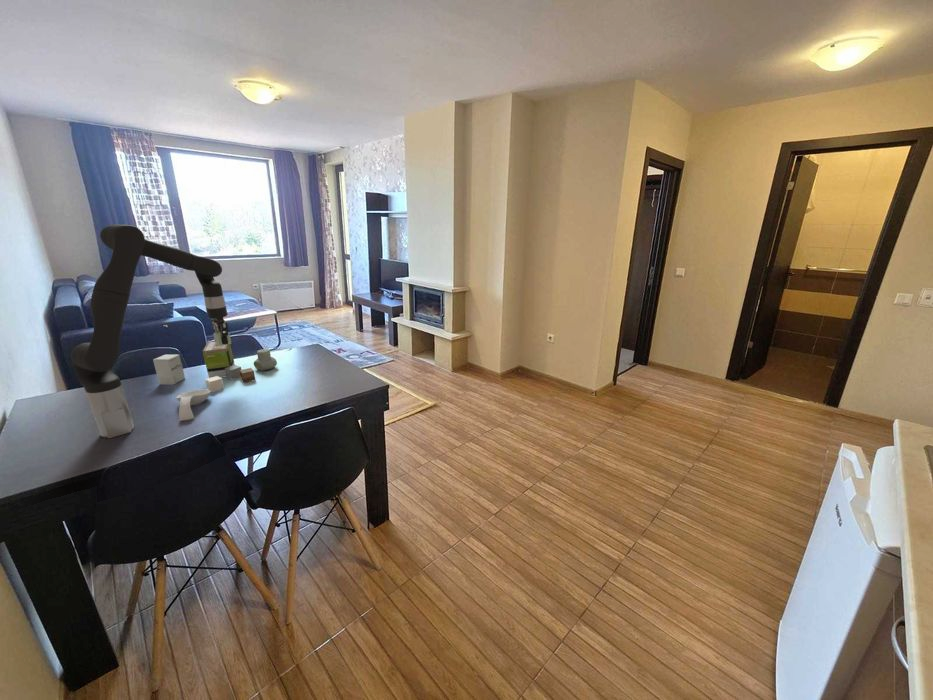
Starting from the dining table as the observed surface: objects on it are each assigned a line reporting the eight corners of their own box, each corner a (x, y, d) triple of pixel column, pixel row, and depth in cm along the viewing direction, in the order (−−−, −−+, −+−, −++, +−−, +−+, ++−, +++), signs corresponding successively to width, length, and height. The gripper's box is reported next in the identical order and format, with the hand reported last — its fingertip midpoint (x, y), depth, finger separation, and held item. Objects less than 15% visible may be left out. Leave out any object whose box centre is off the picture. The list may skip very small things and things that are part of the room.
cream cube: (223, 388, 173) (221, 378, 172) (211, 392, 170) (209, 381, 168) (219, 385, 176) (217, 375, 175) (207, 389, 172) (204, 379, 171)
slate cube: (242, 376, 187) (240, 366, 186) (232, 379, 183) (230, 370, 182) (236, 374, 190) (235, 365, 188) (226, 377, 185) (224, 368, 184)
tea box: (213, 368, 196) (207, 341, 192) (235, 366, 200) (230, 339, 196) (208, 379, 183) (201, 350, 179) (232, 376, 187) (226, 347, 183)
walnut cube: (255, 380, 183) (253, 370, 181) (244, 382, 180) (242, 373, 178) (252, 377, 186) (250, 367, 185) (241, 379, 183) (239, 370, 181)
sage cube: (231, 343, 172) (229, 333, 171) (219, 346, 169) (217, 335, 167) (227, 341, 176) (225, 331, 174) (215, 343, 172) (213, 333, 170)
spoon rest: (181, 399, 163) (177, 384, 161) (213, 394, 168) (210, 379, 166) (169, 424, 143) (164, 407, 140) (206, 417, 148) (202, 401, 145)
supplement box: (174, 384, 176) (167, 359, 172) (158, 384, 177) (152, 359, 173) (185, 378, 183) (179, 354, 179) (170, 378, 184) (164, 354, 180)
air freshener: (279, 368, 198) (277, 350, 194) (264, 373, 191) (261, 354, 188) (267, 364, 203) (264, 346, 200) (252, 369, 196) (249, 350, 193)
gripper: (231, 307, 165) (238, 344, 170) (219, 302, 174) (226, 338, 179) (211, 309, 159) (219, 348, 165) (200, 305, 168) (208, 341, 174)
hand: (223, 342), depth 172 cm, fingers closed on sage cube, 5 cm apart
